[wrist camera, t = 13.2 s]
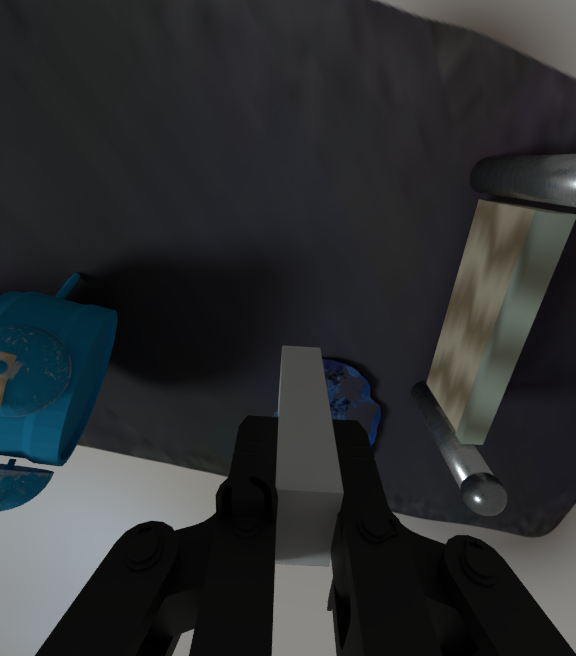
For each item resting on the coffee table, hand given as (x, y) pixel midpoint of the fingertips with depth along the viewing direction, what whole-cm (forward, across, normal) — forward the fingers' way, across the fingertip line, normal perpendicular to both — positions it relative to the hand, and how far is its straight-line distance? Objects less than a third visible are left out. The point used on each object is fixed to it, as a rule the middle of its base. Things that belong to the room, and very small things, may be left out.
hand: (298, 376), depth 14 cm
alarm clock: (+23, -22, -11) cm, 33 cm away
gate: (+21, +18, -4) cm, 28 cm away
